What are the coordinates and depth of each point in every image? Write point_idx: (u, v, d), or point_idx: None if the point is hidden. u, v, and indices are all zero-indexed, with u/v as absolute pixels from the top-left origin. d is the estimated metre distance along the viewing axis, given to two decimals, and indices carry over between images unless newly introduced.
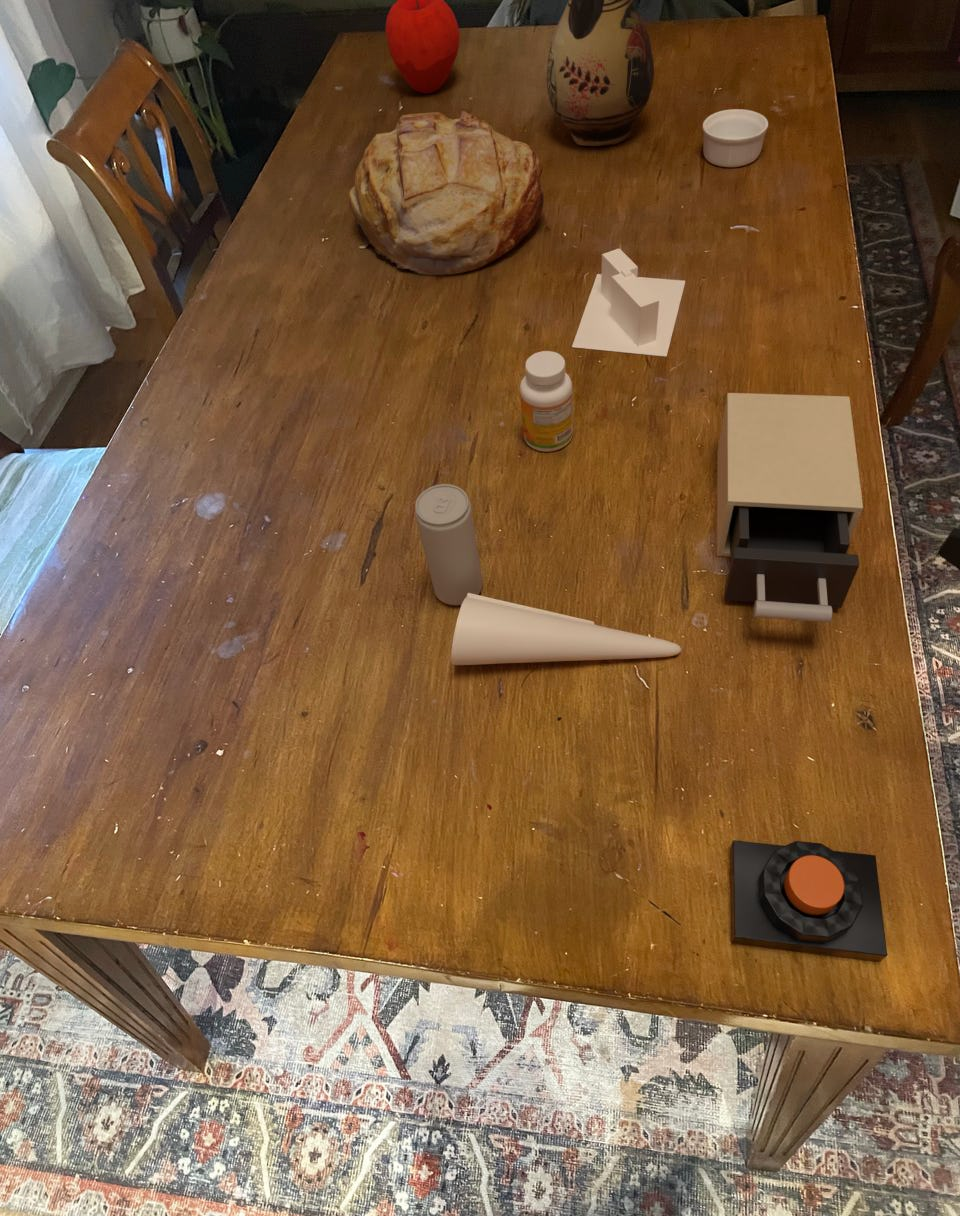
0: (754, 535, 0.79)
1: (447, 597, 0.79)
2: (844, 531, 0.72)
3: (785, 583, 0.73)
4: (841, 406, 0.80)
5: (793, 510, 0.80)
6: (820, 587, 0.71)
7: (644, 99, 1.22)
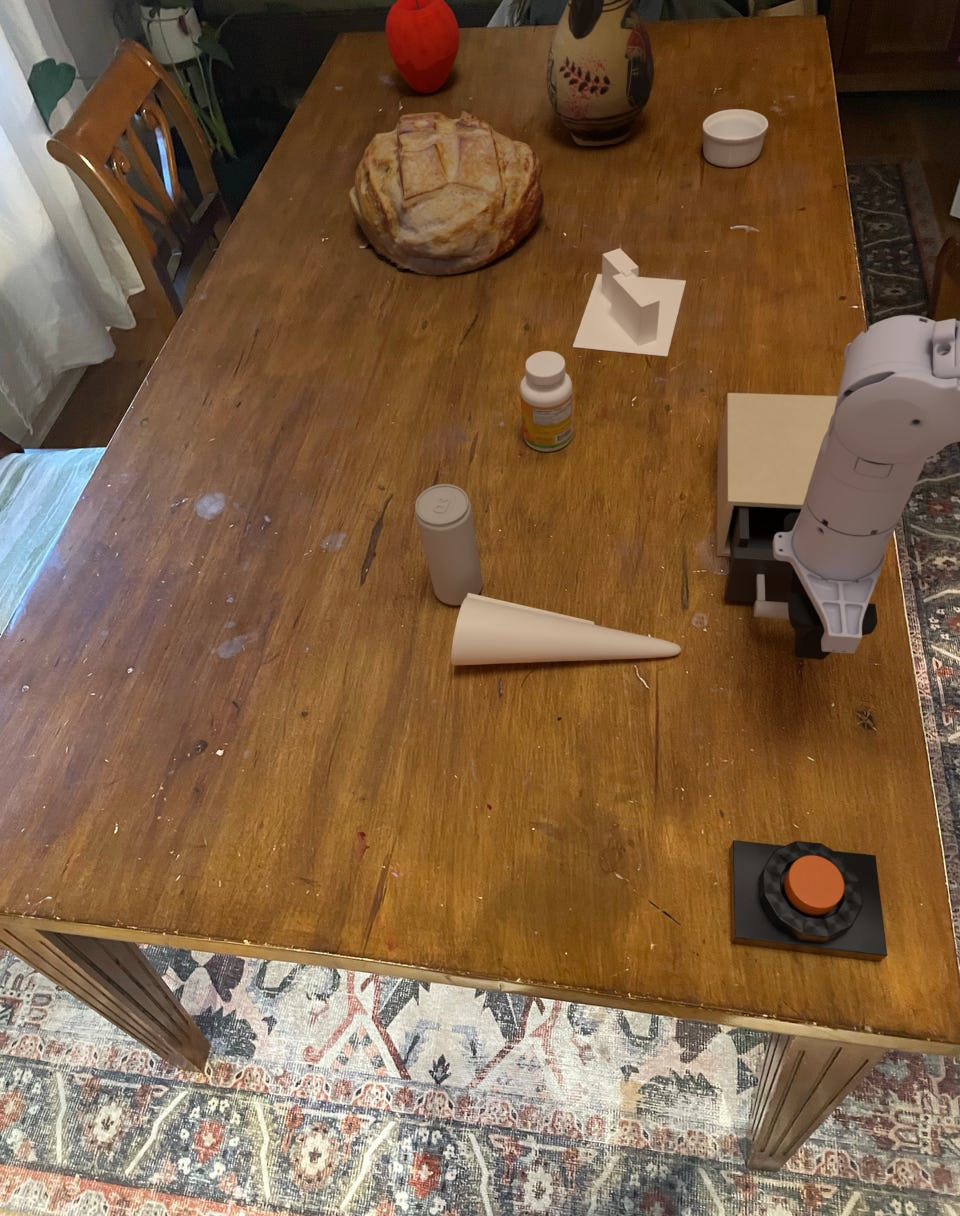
0: (754, 535, 0.79)
1: (447, 597, 0.79)
2: None
3: (785, 583, 0.73)
4: None
5: (793, 510, 0.80)
6: None
7: (644, 99, 1.22)
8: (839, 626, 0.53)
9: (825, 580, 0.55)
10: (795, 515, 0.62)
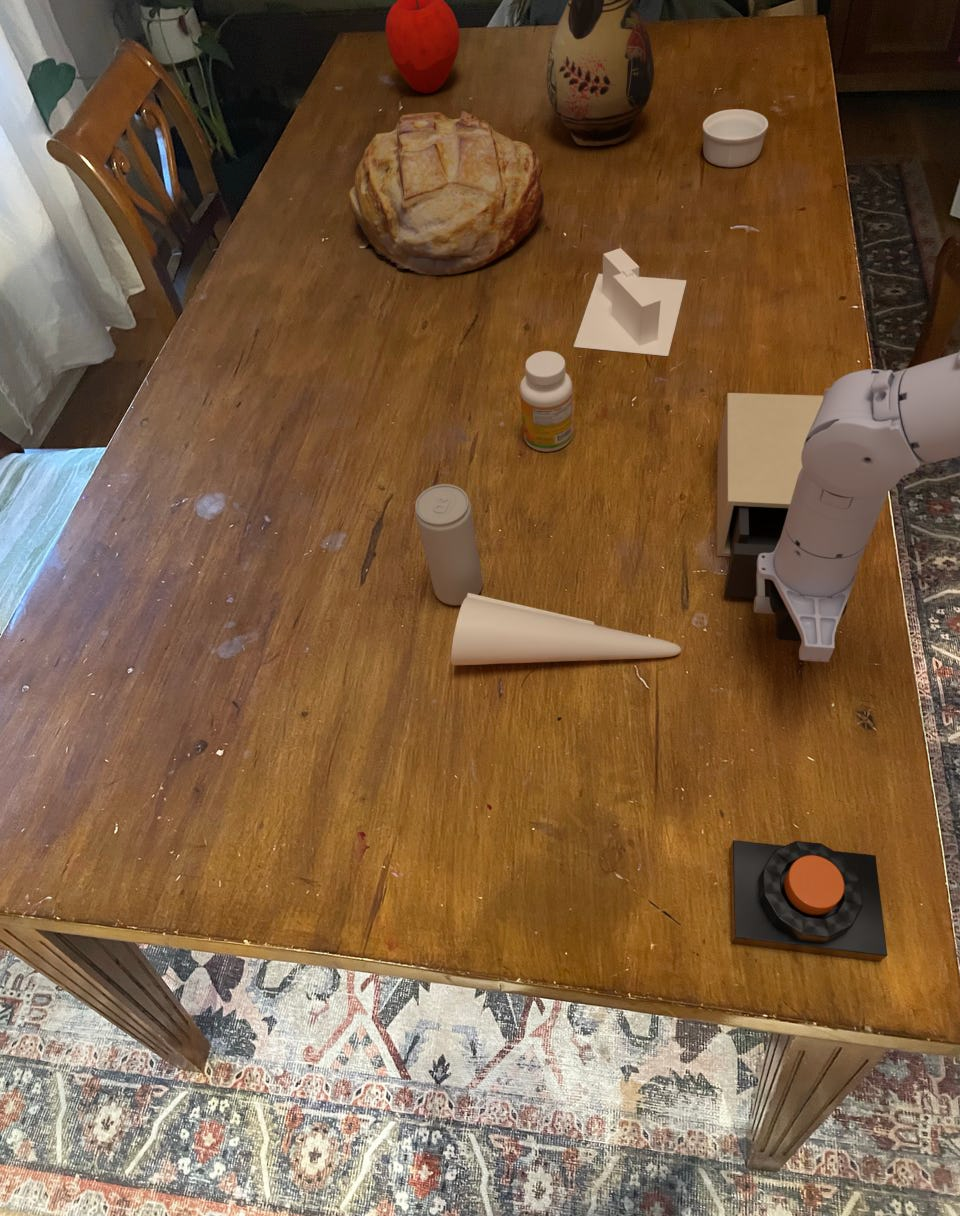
0: (754, 531, 0.79)
1: (447, 597, 0.79)
2: None
3: None
4: None
5: None
6: None
7: (644, 99, 1.22)
8: (814, 637, 0.60)
9: (803, 596, 0.62)
10: None
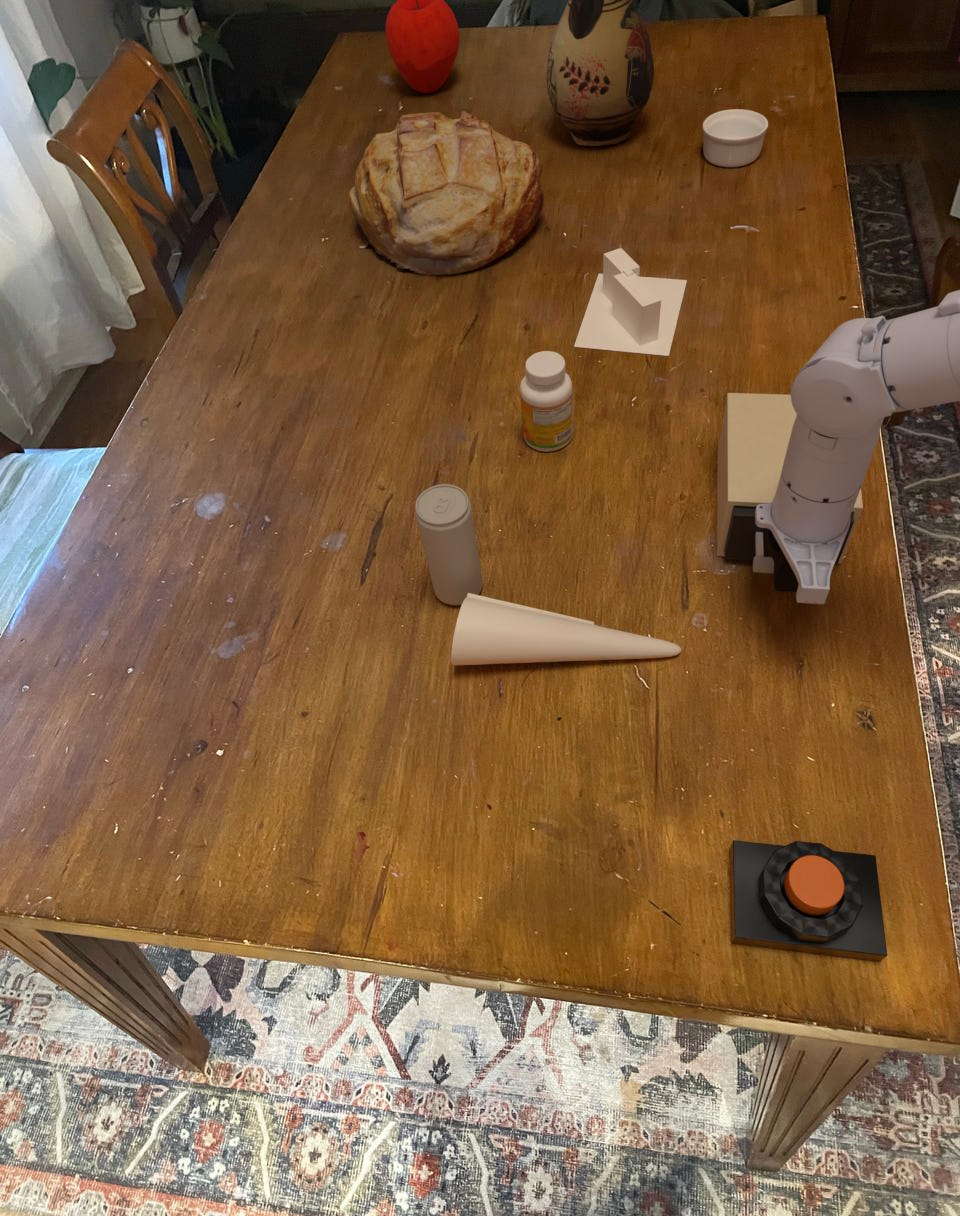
0: None
1: (447, 597, 0.79)
2: None
3: None
4: None
5: None
6: None
7: (644, 99, 1.22)
8: (811, 580, 0.63)
9: (799, 543, 0.65)
10: None
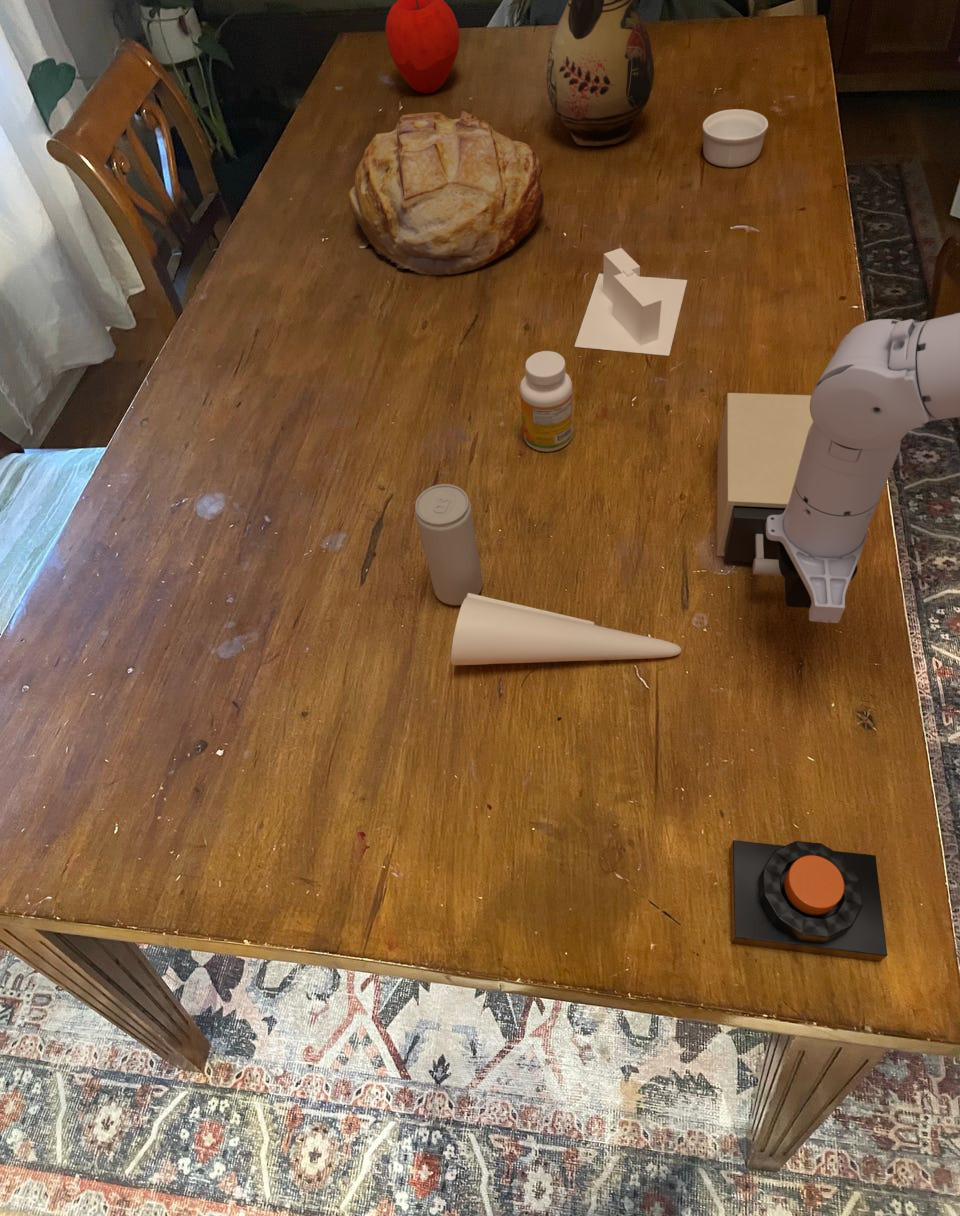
0: None
1: (447, 597, 0.79)
2: None
3: None
4: None
5: None
6: None
7: (644, 99, 1.22)
8: (825, 598, 0.59)
9: (812, 557, 0.61)
10: None
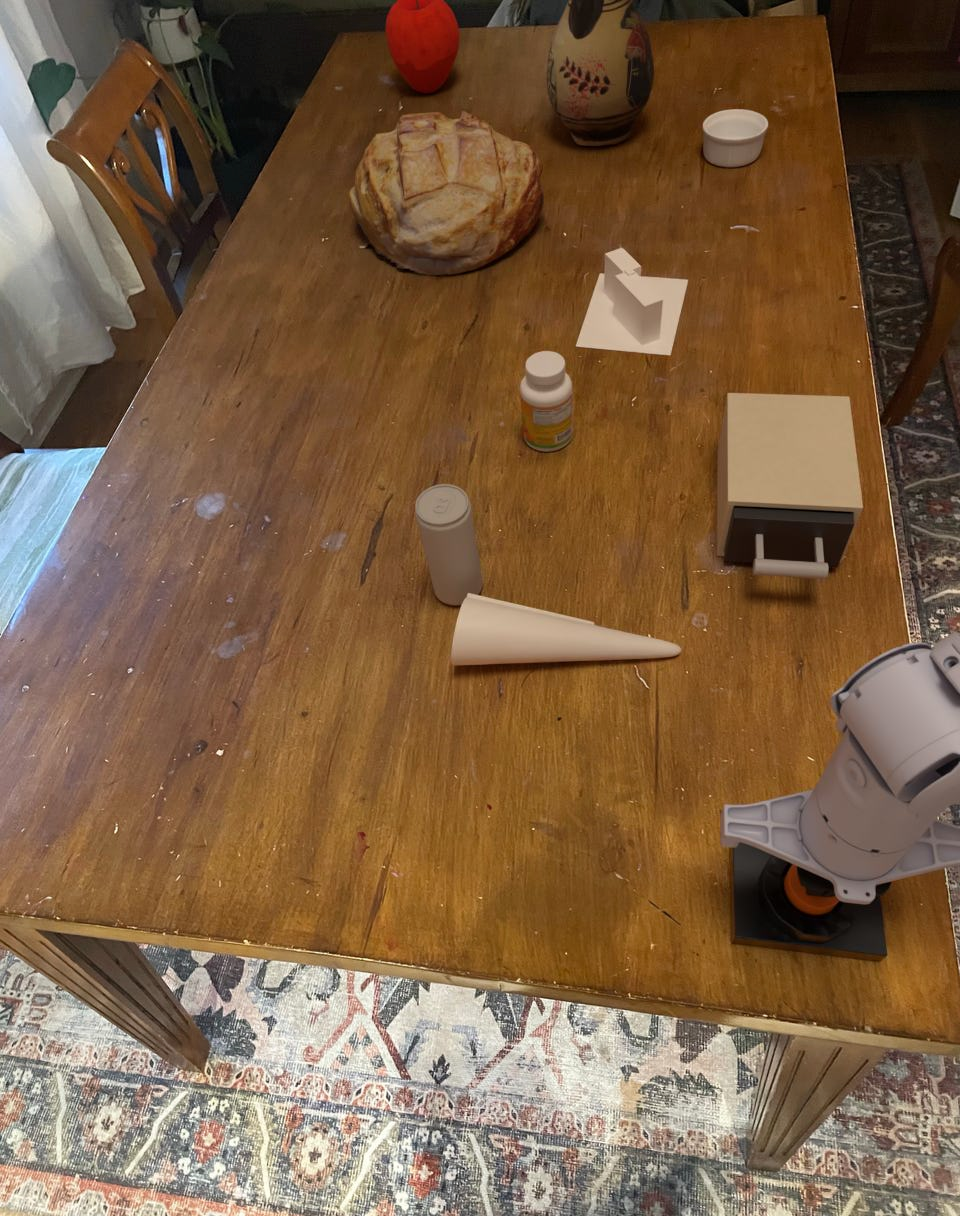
0: None
1: (447, 597, 0.79)
2: None
3: (783, 543, 0.76)
4: (841, 406, 0.80)
5: None
6: (817, 546, 0.74)
7: (644, 99, 1.22)
8: None
9: None
10: (803, 873, 0.51)
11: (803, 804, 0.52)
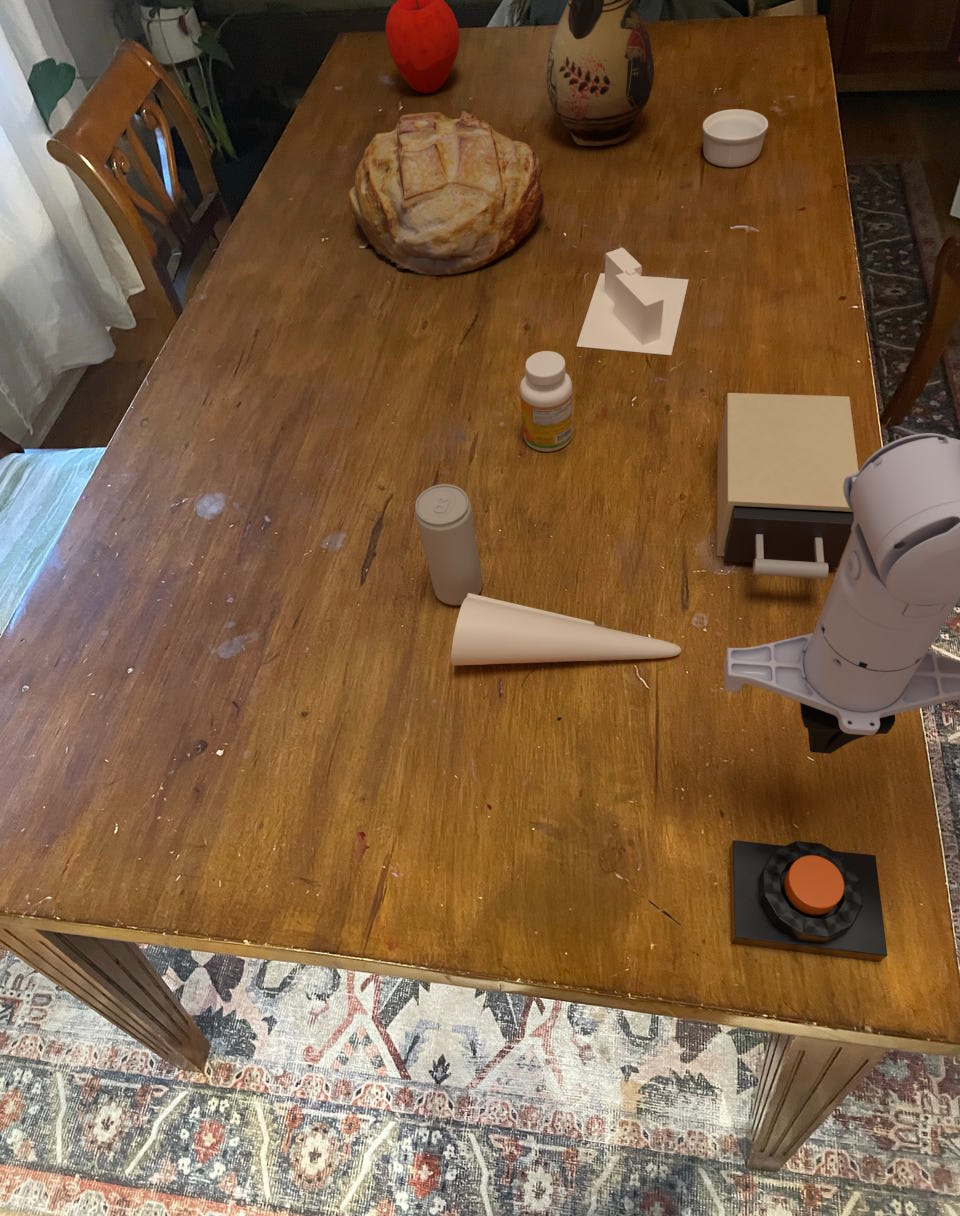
0: None
1: (447, 597, 0.79)
2: None
3: (783, 543, 0.76)
4: (841, 406, 0.80)
5: None
6: (817, 546, 0.74)
7: (644, 99, 1.22)
8: None
9: (905, 686, 0.49)
10: (807, 714, 0.51)
11: (806, 645, 0.51)
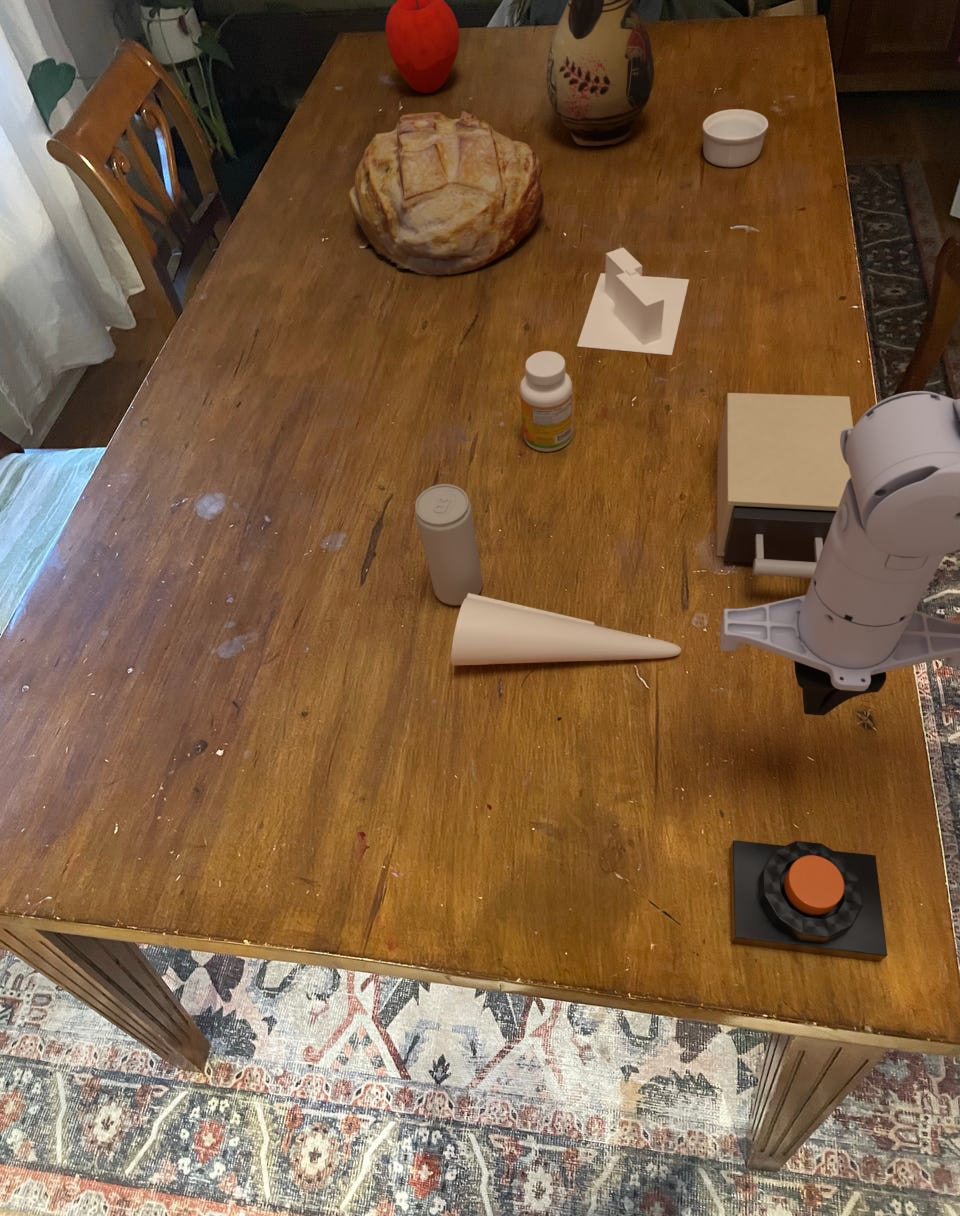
0: None
1: (447, 597, 0.79)
2: None
3: (783, 543, 0.76)
4: (841, 406, 0.80)
5: None
6: (817, 546, 0.74)
7: (644, 99, 1.22)
8: (956, 641, 0.51)
9: (895, 645, 0.51)
10: (801, 672, 0.53)
11: (801, 606, 0.53)
